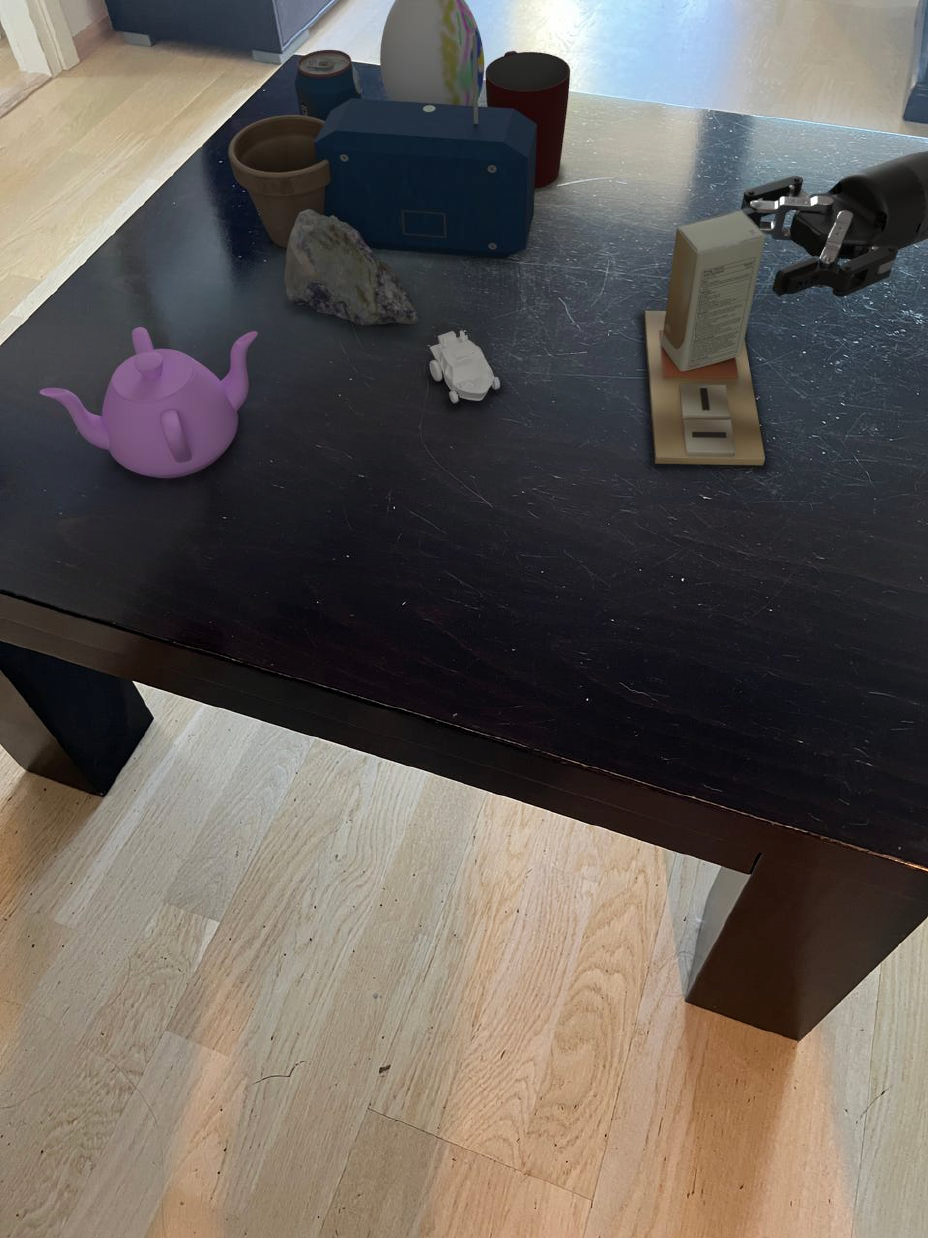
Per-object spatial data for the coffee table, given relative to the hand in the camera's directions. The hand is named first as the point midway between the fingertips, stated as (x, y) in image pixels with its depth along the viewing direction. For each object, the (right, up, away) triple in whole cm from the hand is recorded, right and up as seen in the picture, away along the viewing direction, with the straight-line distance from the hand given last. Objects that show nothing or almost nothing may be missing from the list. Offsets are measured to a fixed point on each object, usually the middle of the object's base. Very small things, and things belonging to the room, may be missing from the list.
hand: (745, 257), depth 83 cm
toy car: (-24, -9, +6) cm, 26 cm away
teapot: (-49, -15, +3) cm, 52 cm away
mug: (-17, +21, +29) cm, 40 cm away
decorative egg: (-28, +31, +37) cm, 55 cm away
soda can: (-38, +21, +30) cm, 53 cm away
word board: (-3, -10, +5) cm, 11 cm away
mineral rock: (-35, -1, +13) cm, 38 cm away
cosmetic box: (-3, -6, +6) cm, 9 cm away
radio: (-27, +10, +21) cm, 36 cm away
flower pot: (-42, +11, +22) cm, 48 cm away
